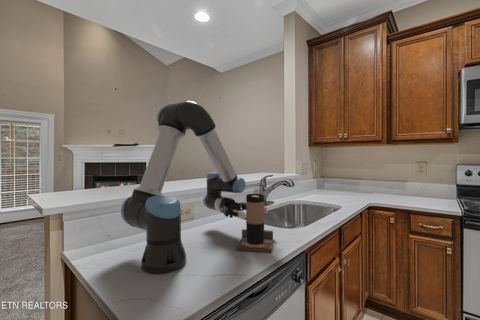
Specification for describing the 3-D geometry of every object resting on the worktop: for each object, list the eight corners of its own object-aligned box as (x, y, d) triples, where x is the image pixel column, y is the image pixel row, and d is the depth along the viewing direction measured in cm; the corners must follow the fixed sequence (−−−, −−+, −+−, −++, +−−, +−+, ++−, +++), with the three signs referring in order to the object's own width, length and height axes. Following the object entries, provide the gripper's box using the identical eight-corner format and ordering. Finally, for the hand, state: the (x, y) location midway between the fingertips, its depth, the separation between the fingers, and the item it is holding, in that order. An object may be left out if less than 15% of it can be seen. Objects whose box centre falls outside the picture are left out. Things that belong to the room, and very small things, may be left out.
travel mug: (251, 237, 107) (251, 193, 106) (267, 240, 103) (267, 194, 102) (243, 243, 100) (242, 195, 100) (259, 246, 96) (259, 197, 96)
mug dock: (271, 253, 93) (271, 242, 93) (236, 250, 95) (236, 240, 95) (272, 239, 107) (272, 230, 107) (242, 237, 110) (242, 229, 110)
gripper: (244, 208, 125) (275, 216, 109) (204, 217, 109) (233, 227, 93) (244, 194, 125) (275, 200, 109) (203, 200, 109) (233, 208, 93)
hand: (256, 212), depth 101 cm, fingers open, 13 cm apart
